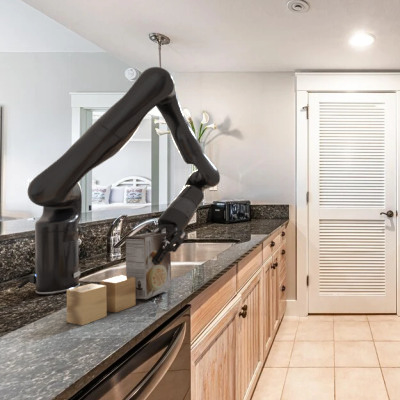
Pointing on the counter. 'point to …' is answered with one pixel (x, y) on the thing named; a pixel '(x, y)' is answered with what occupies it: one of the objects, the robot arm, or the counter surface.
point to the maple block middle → (119, 293)
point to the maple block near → (86, 304)
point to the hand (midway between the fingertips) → (144, 262)
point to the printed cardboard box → (147, 264)
